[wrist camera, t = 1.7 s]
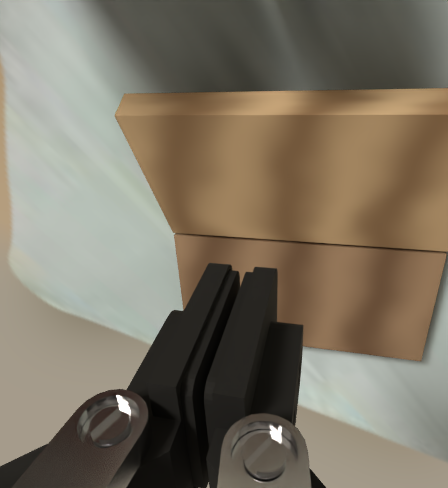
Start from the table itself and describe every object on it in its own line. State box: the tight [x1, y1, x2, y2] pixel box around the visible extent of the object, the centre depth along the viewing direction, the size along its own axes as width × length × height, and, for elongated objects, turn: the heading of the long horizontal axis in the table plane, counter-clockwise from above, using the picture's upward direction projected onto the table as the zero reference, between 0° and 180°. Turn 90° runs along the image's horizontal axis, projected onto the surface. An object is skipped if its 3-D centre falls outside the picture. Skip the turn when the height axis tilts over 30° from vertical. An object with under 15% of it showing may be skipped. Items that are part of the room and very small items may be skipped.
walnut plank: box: [174, 233, 447, 361], centre depth 34 cm, size 20×10×2 cm, turn 93°
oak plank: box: [115, 88, 448, 252], centre depth 26 cm, size 20×12×2 cm
